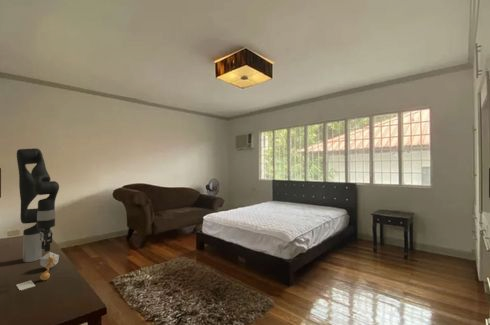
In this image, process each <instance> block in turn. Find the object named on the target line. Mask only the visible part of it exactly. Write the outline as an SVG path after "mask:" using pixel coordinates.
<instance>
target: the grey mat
mask: <svg viewBox="0 0 490 325" xmlns="http://www.w3.org/2000/svg"><path fill="white" fill-rule="evenodd" d="M15 286H16V288H17V289H18V290H19V291H20V290H21V291H24V290H28V289H30V288H34V287H36V285H35V284H34V282H33V281H32V280H28V281H24V282H20V283H18V284H16V285H15Z"/></svg>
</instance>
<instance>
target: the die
mask: <svg viewBox="0 0 490 325" xmlns="http://www.w3.org/2000/svg"><path fill="white" fill-rule="evenodd" d="M49 256H50V257H55V259H54V262H53V264H52V263H51V264H52V267H51V268H53V267H54V266H56V265H57V264H58V262H59V258H60V255H59V254H56V253H54V252H51V251H48V252H47V253H46V254H45V255H42V258H41V259H39V260H40V261H39V262H40V263H39V266H41V267H43V268H45V266H46V265H47V264H48V263H49V261H48V260H49V259H48V258H49ZM47 261H48V262H47ZM46 262H47V263H46ZM51 268H50V267H49V270H50V269H51Z"/></svg>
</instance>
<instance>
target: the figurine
mask: <svg viewBox="0 0 490 325" xmlns="http://www.w3.org/2000/svg"><path fill="white" fill-rule="evenodd" d="M48 259H49V260H48V261H49V263H48V264H47V265H46V266H45V267H44V268H45V269H46V270H45V271H44V272H43V273H41V274H40V276H39V278H40V280H41V281H46V280H48V279H50V276H51V274H50V272H49V271H50V269H51V268H53V267H52V264H53V262H54V259H55V257H50V256H49V258H48ZM48 261H47V262H48ZM47 262H46V263H47ZM51 263H52V264H51ZM49 267H50V269H49Z"/></svg>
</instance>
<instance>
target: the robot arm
mask: <svg viewBox="0 0 490 325" xmlns="http://www.w3.org/2000/svg"><path fill="white" fill-rule="evenodd" d="M16 162H17V168H18V177H19V178H18V179H19V180H18V188H19V196H20V223H22V224H26V225H27V224H34V223H35V224H34V225H32V226H31V227H28V228H25V229H24V230H23V232H22V233H23V235H22V236H23V238H22V241H23V242H22V244H23V245H22V262H24V263H31V262H35V261H38V260H40V259H41V258H42V257H43V254H42V253H43V251H44V252H47V253H48V252H51V244H52V243H53V233H54V232H52V230H51V228H54V227H55V226H56V211H55V206H56V199H57V196H58V193H59V190H60V185H59V183H58V182H57V181H56V180H52V181H51V176H50V174H49V172H48V170H47V167H46V164H45V160H44V157H43V152H42V151H41V150H40V148H20V149H17V151H16ZM33 164H35V165H34V166H33V168H32V169H31V171H29V170H28V169H27V166H26V165H33ZM44 195H48V196H47V197H45V198H41V199H39V200H38V202H37V208H28V207H30V204H31V203H32V201H33V200H34V199H35V198H36V197H37V196H44Z"/></svg>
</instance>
